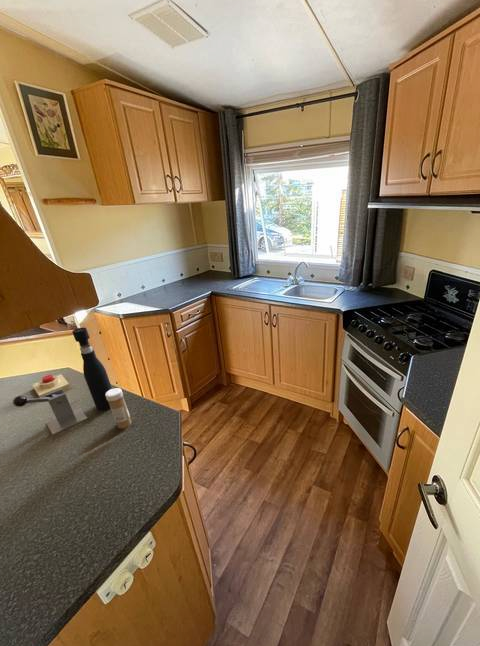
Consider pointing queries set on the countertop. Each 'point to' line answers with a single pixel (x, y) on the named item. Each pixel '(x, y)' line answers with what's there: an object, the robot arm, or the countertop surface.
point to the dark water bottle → (93, 371)
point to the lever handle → (30, 400)
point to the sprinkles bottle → (118, 407)
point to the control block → (51, 386)
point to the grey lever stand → (63, 413)
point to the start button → (48, 379)
